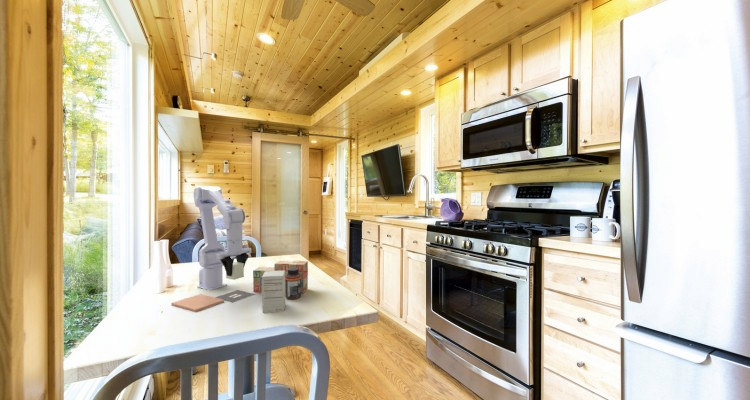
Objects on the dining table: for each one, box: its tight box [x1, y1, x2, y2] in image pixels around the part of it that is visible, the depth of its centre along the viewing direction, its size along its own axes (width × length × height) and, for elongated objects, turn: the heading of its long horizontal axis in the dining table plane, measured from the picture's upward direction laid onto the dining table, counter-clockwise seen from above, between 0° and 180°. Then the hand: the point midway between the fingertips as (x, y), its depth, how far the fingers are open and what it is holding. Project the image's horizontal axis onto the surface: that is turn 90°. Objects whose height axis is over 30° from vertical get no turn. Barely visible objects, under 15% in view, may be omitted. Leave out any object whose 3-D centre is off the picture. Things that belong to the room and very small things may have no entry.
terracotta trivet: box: [171, 293, 225, 313], centre depth 115 cm, size 14×11×1 cm
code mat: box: [214, 289, 256, 304], centre depth 123 cm, size 11×11×1 cm
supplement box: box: [261, 271, 287, 313], centre depth 111 cm, size 7×7×13 cm
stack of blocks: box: [252, 260, 309, 295], centre depth 130 cm, size 21×6×12 cm, turn 85°
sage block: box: [225, 261, 245, 281], centre depth 123 cm, size 4×4×6 cm
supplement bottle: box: [285, 268, 302, 300], centre depth 122 cm, size 6×6×11 cm
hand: (234, 274), depth 123 cm, fingers closed on sage block, 4 cm apart
